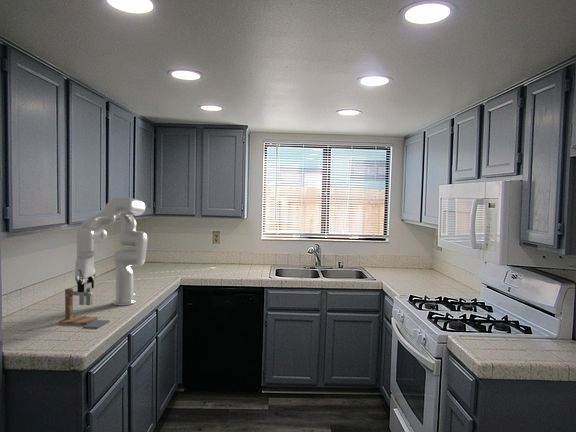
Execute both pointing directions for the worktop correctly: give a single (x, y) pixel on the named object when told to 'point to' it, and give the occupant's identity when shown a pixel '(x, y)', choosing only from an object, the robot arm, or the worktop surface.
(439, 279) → the worktop surface
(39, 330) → the worktop surface
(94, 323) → the rubber mat
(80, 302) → the grey u-shaped bracket
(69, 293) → the hook stand
